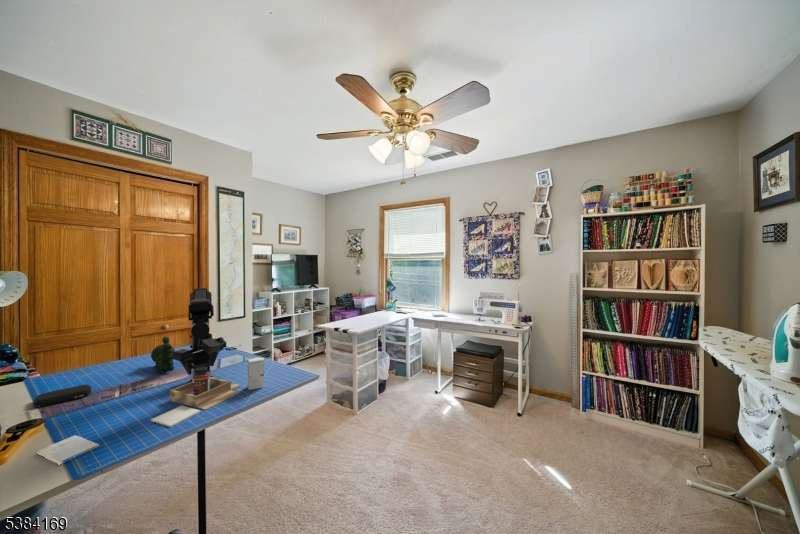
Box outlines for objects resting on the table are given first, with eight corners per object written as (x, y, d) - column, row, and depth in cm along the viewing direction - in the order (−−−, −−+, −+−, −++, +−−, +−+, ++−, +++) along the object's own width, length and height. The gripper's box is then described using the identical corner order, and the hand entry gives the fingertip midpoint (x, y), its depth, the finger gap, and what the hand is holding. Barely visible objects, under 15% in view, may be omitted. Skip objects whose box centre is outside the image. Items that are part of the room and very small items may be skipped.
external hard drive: (59, 467, 78) (36, 456, 83) (99, 449, 86) (76, 439, 90) (59, 462, 78) (36, 450, 82) (99, 443, 86) (76, 434, 90)
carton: (169, 400, 114) (169, 390, 113) (216, 380, 132) (216, 372, 132) (205, 410, 107) (205, 399, 107) (249, 387, 125) (249, 378, 125)
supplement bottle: (191, 400, 114) (190, 371, 114) (193, 394, 119) (193, 366, 119) (209, 397, 117) (209, 369, 116) (211, 391, 122) (210, 364, 122)
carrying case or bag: (32, 411, 105) (91, 397, 116) (31, 403, 105) (91, 390, 116) (35, 401, 113) (91, 389, 123) (35, 393, 112) (90, 382, 123)
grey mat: (150, 421, 99) (150, 419, 99) (181, 407, 109) (181, 405, 109) (170, 427, 96) (170, 425, 96) (200, 412, 105) (200, 410, 105)
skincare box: (248, 390, 123) (248, 362, 122) (247, 386, 126) (247, 359, 126) (264, 387, 126) (264, 359, 126) (262, 383, 130) (262, 356, 129)
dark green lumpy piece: (179, 376, 140) (172, 358, 158) (179, 338, 138) (172, 324, 156) (154, 382, 134) (149, 362, 152) (153, 342, 132) (149, 327, 150)
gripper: (191, 340, 106) (191, 382, 106) (235, 328, 123) (236, 365, 124) (170, 337, 109) (171, 378, 110) (216, 326, 127) (217, 361, 127)
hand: (201, 370), depth 118 cm, fingers open, 9 cm apart
